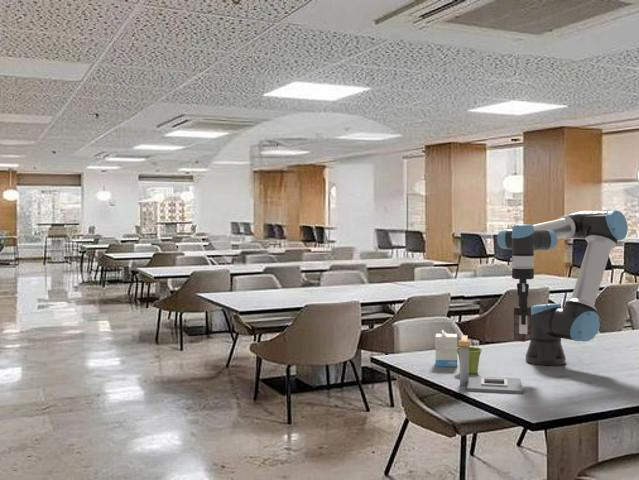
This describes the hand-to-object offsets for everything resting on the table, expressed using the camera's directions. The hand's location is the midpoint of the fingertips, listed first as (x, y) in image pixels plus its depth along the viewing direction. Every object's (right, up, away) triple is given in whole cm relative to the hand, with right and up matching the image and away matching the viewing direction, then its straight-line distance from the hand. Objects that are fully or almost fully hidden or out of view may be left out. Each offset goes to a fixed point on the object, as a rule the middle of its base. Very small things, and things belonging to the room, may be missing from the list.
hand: (522, 331), depth 244 cm
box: (0, -3, 0) cm, 3 cm away
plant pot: (-17, -17, +11) cm, 26 cm away
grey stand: (-14, -17, -10) cm, 24 cm away
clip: (-22, -3, -4) cm, 22 cm away
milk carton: (-23, -16, +25) cm, 37 cm away
